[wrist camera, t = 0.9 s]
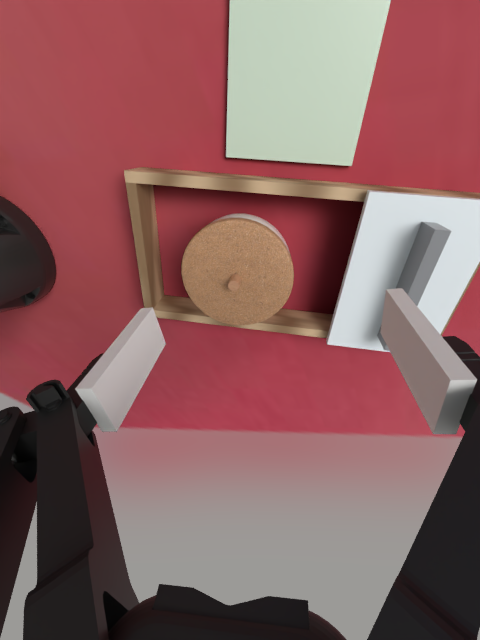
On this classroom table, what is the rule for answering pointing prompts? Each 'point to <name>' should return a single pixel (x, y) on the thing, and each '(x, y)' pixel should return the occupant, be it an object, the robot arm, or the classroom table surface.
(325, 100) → the mat
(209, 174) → the wooden rectangular frame
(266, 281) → the lidded jar
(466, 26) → the classroom table surface
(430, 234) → the lid
